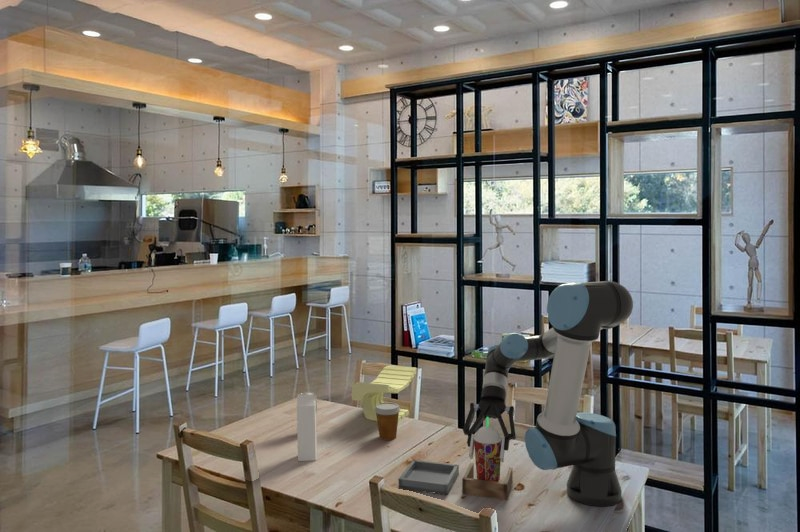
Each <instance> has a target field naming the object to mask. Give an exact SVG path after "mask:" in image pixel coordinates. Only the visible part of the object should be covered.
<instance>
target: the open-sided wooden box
mask: <svg viewBox="0 0 800 532" xmlns="http://www.w3.org/2000/svg"><path fill="white" fill-rule="evenodd" d="M474 466H475V465H474V463H473V462H470V463H469V465H468V467H467V469H466V471H465V472H464V475H463V477H462V479H461V481H462V483H461V484H462V485H461V487H462V492H461V493H462V495H469V496H475V497H485V498H492V499H496V500H497V499H499V500H504V501H505V500H506V501H508V498H509V496H510V495H509V494H510V492H511V488H512V485H513V483H514V482H513V478H514V477H513V475H514V474H513V471H514V470H513V469H514V468H512V467H508V469H507V473H506V476H505V479H504V481H503V482H501V481H498V482H495V481H487V480H479V479H477V478H474V477H475V476H474V475H475V474H474V473H475V472H474V469H475V467H474Z"/></svg>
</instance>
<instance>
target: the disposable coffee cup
mask: <svg viewBox="0 0 800 532" xmlns="http://www.w3.org/2000/svg"><path fill="white" fill-rule="evenodd" d="M400 409H401V408H400V406H399V403H396V402H391V401H390V402H387V401H386V402H384V403H380V404H377V405H376V408H375V412H376V416H377V421H376V422H377V428H378V429H377V430H378V437H379V439H380V440H383V441H392V439H393V440H395V439H396V438H397V434H398V424H399V422H398V416H399V411H400Z"/></svg>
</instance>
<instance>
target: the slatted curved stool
mask: <svg viewBox="0 0 800 532" xmlns="http://www.w3.org/2000/svg"><path fill="white" fill-rule="evenodd" d="M416 374H417V367H413V366H403V365H401V366H400V365H390V364H389V365H386V366H384V367H383V368H382V369H381V371H380V372H379V373H378V375H377V376H376V377H375V379H374V380H372V382H364V381H362V382H361V381H358V382H357V381H356V382H355V383H354V384H353V385H352V387H351V400H352V401H357V402H358V401H359V402H361V403H362V411H363V415H364V417H365V418H366V419H367V420H369V419H370V420H369V421H376V422H377V416H376V412H375V408H376V405H377V404H380V403H385V401H384V394H399V393H400V392H401V391H402V390H404V389H406V388H408V387H409V385H410V383H412V379H414V376H416ZM408 415H410V411H409V409H403V408H400V411H399V416H398V423H400V422H401V421H402V420H404V418H406V417H407V416H408ZM401 419H402V420H401ZM400 420H401V421H400ZM399 421H400V422H399Z"/></svg>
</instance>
